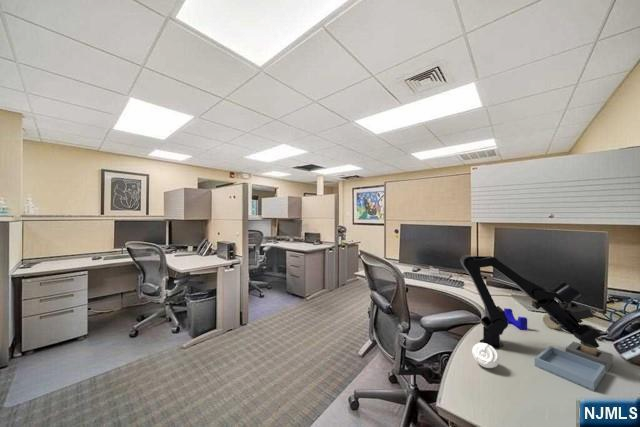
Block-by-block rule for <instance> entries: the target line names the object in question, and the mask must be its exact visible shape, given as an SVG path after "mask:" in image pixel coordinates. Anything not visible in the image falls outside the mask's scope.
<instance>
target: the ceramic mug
mask: <svg viewBox="0 0 640 427" xmlns="http://www.w3.org/2000/svg"><path fill="white" fill-rule="evenodd" d="M542 321H543V324H545V325H546V326H547V327H548V328H550V329H552V330H562V331H564V332H565V333H567V334H572V333H570V332H568V331H566V330H564V329H563V328H561V327H560V326H561V325H557V324H555V323H554V322H553V321H551V320H550V316H549V315H548V313H547V312H546V313H545V314H544V315H543V316H542ZM572 335H573V334H572Z"/></svg>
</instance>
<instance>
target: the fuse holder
mask: <svg viewBox="0 0 640 427" xmlns="http://www.w3.org/2000/svg"><path fill="white" fill-rule="evenodd" d="M565 351H566V352H569V353H571V354H574V355H577V356H580V357H582V358H585V359H588V360H591V361H594V362H596V363H599V364H602V365H605V373H608V371H609V370H610V368H612V365H613V364H614V360H613V358H614V357H613V354H612V353H610V352H606V351H604V350H601V349H598V348H597V357H596V356H593V355H590V354H587V353H584V352H582V351H581V343H579V342H576V341H572V342H571V343H570V344H568V346H566V347H565Z"/></svg>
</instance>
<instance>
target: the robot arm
mask: <svg viewBox="0 0 640 427" xmlns="http://www.w3.org/2000/svg"><path fill="white" fill-rule="evenodd" d="M459 262H460V264H461V266H462V267H463V269H464V270H465V271H466V272H467V274H468V275H469V277H470V278H471V281H472V283H473V285H474V286H475V288H476V291H477V294H478V295H479V298H480V299H481V301H482V304H483V306H484V313H485V316H484V317H482V318H481V319H480V323H481V325H482V327H483V328H482V329H483V330H482V332H483V333H482V334H483V336H482V339H480V340H479V343H487V344H488V345H491V346H492V347H493V348H494V349H495V350H498V349H499V348H501V347H503V346H504V345H505V344H504V343H502V342H501V336H502V335H503V334H504V330H506V329H507V328H508V326H509V324H508V322H507V321H509V320H508V319H507V318H506V315H505V312H504V309H502V308H501V307H500V306H499V305H496V303H495V301H494V299H493V297H492V295H491V293H490V291H489V289H488V287H487V285H486V283H485V281H484V279H483V277H482V274H481V273H482V272H481V271H482V270H481V268H487V267H491V268H493V269H494V270H496V271H498V272H499V273H500V274H502V276H504V277H506V278H507V279H509V281H511V282H513V283H514V285H516V286H517V287H518V289H519V290H520V291H521V292H523V293H524V294H525V295H526V296H527V297H529V298H531V299H532V300H531V306H532V307H533V308H535V309H536V310H539V309H542V310H543V311H545V313H546V314H547V313H548V315H549V316H550V320H551V321H553V322H554V323H555V324H557V325H561V326H560V327H561V328H563V329H564V330H566V331H568V332H570V333H572V335H573V336H574V338H576V339H577V340H579V341H582V342H583V343H585V344H590V345H592V346H594V347H597V349H598V348H599V347H600V344H599V343H598V341H596V340H595V339H596V338H597V339H599V337H601V336H602V333H601V332H600V331H599V330H598V329H597V330H596V329H595V328H593V327H591V326H592V325H591V326H589V325H590V324H588V325H580V324H582V323H583V322H584V321H583V320H585V319H590V318H595V314H594V313H593V311H592V310H591V308H590V307H589V306H586V305H584V304H580V303H578V304H577V303H575V302H574V300H576V299H577V298H579V297H580V296H582V294H581V293H580V292H579V291H578V290H577V289H575V288H573V287H572V286H570V285H568V284H567V283H566V282H564V281H559V282H557V283H556V285H554V286H553V287H551V288H548V287H545V286H543V287H542V286H540V285H539V284H536V283H534V282H532V281H530V280H528V279H526V278H524V277H523V276H521V275H519V273H517V272H516V271H514V270H512V269H511V268H510V267H509V266H507V265H506V264H505V263H503V262H501V261H500V260H499V259H498V258H497V257H495V256H492V255H488V256H487V255H486V256H483V255H479V256H478V255H474V256H472V255H471V254H464V255H462V256H460V259H459ZM562 304H566V305H567V308H566V307H565V306H563V305H562ZM570 333H569V334H570Z"/></svg>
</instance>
